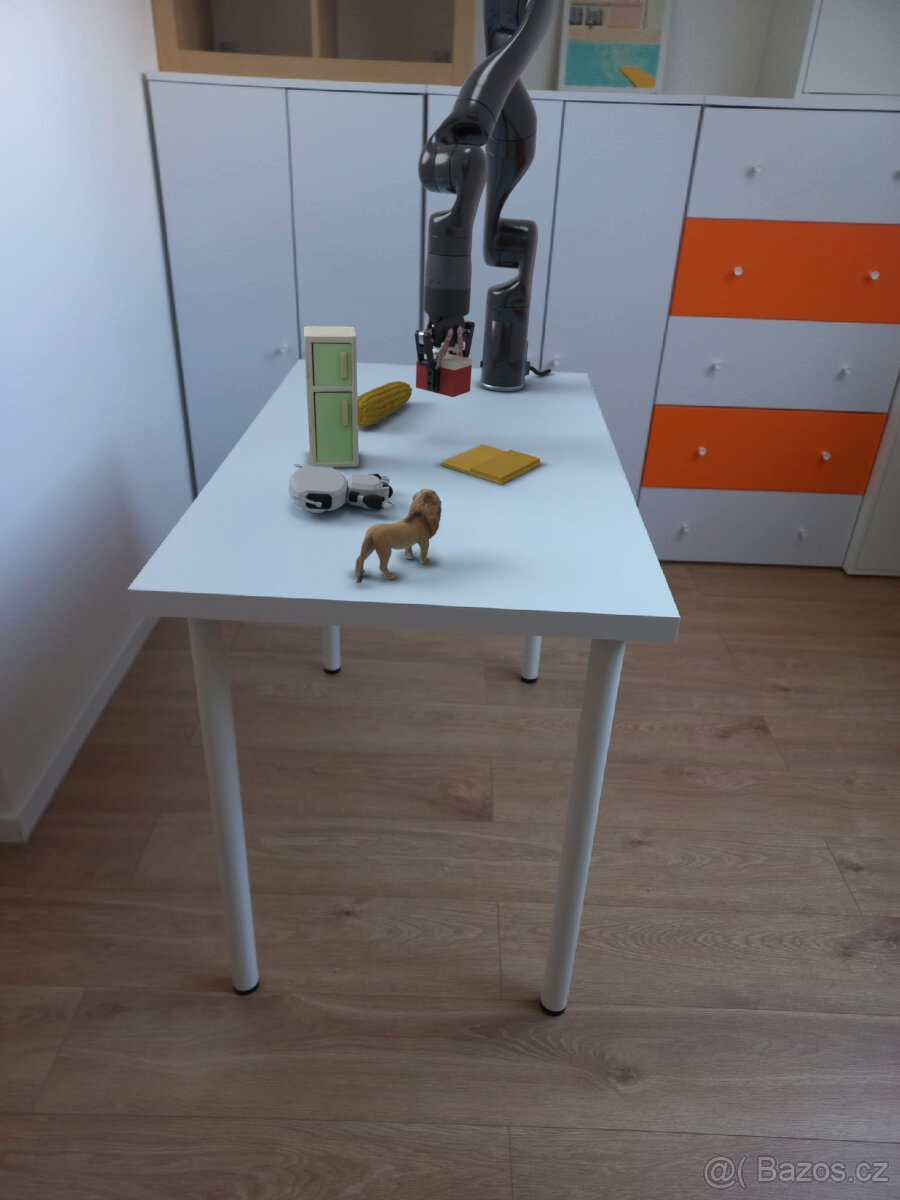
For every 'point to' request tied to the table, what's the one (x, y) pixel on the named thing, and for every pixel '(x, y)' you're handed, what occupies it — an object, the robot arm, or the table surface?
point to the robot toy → (338, 489)
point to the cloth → (492, 463)
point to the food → (381, 402)
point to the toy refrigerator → (332, 395)
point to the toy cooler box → (448, 375)
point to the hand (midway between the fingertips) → (443, 387)
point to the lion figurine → (403, 533)
